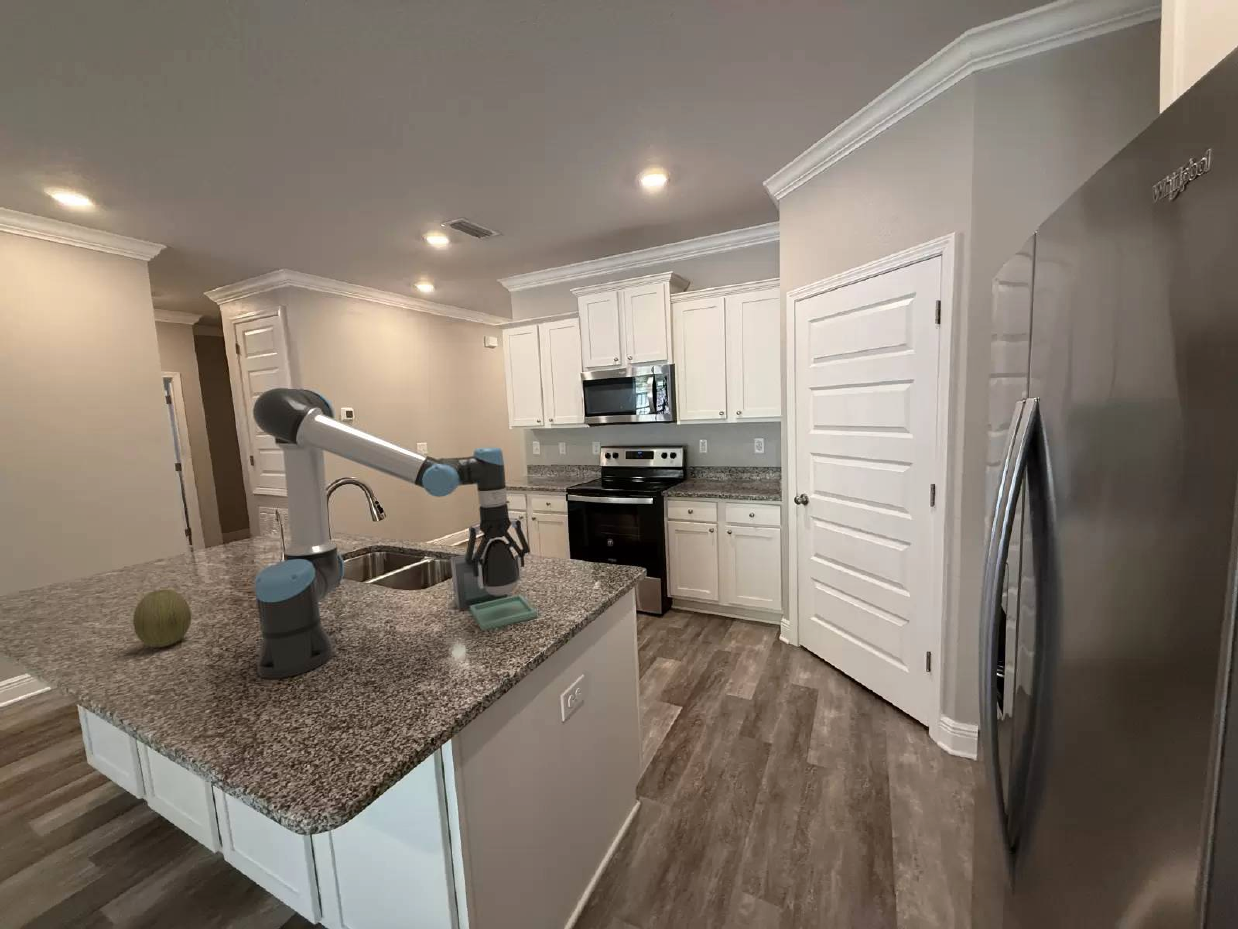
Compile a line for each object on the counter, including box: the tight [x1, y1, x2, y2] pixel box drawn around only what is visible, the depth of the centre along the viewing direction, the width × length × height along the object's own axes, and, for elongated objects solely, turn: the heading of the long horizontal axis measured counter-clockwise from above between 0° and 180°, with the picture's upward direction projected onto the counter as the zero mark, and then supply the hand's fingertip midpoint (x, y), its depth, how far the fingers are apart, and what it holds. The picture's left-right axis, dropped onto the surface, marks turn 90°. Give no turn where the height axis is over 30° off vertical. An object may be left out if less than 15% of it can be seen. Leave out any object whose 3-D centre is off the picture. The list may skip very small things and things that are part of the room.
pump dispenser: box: [482, 538, 519, 596], centre depth 137 cm, size 10×10×15 cm
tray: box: [469, 593, 538, 633], centre depth 139 cm, size 15×15×2 cm
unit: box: [449, 550, 508, 612], centre depth 149 cm, size 14×9×14 cm, turn 118°
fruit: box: [132, 589, 192, 648], centre depth 131 cm, size 11×11×15 cm
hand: (500, 582), depth 138 cm, fingers closed on pump dispenser, 10 cm apart
